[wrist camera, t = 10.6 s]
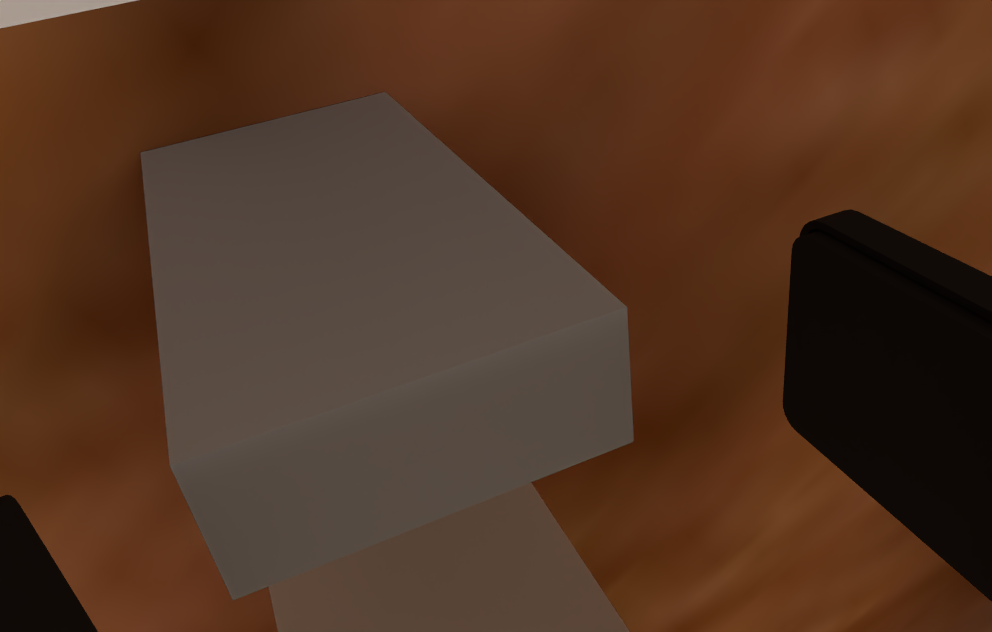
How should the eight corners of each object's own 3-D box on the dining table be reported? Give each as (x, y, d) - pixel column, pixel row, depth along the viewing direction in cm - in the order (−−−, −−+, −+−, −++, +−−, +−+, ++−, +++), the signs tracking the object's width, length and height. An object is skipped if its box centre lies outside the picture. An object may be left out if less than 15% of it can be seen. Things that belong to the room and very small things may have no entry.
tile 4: (442, 390, 21) (641, 716, 13) (252, 458, 20) (346, 863, 12) (428, 327, 20) (636, 641, 12) (228, 394, 19) (312, 794, 11)
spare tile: (140, 152, 16) (169, 465, 8) (385, 92, 17) (627, 307, 9) (175, 243, 17) (233, 600, 9) (403, 179, 18) (634, 441, 10)
